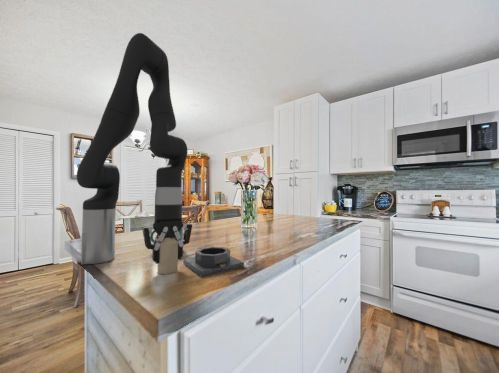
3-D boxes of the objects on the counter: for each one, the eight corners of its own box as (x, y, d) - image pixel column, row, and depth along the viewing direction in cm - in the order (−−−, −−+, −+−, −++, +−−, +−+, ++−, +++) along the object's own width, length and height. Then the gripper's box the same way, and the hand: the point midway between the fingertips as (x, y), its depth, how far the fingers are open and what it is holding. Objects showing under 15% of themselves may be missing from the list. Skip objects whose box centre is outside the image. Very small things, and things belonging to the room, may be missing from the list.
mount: (201, 277, 59) (201, 260, 59) (183, 263, 71) (183, 249, 71) (243, 267, 67) (243, 252, 68) (221, 256, 79) (221, 243, 79)
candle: (171, 275, 61) (171, 238, 61) (153, 273, 62) (154, 238, 62) (181, 268, 66) (181, 235, 66) (164, 267, 67) (165, 234, 67)
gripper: (187, 201, 72) (187, 254, 71) (139, 202, 63) (138, 262, 63) (197, 202, 66) (196, 259, 65) (144, 204, 57) (143, 269, 57)
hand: (167, 260), depth 64 cm, fingers closed on candle, 5 cm apart
